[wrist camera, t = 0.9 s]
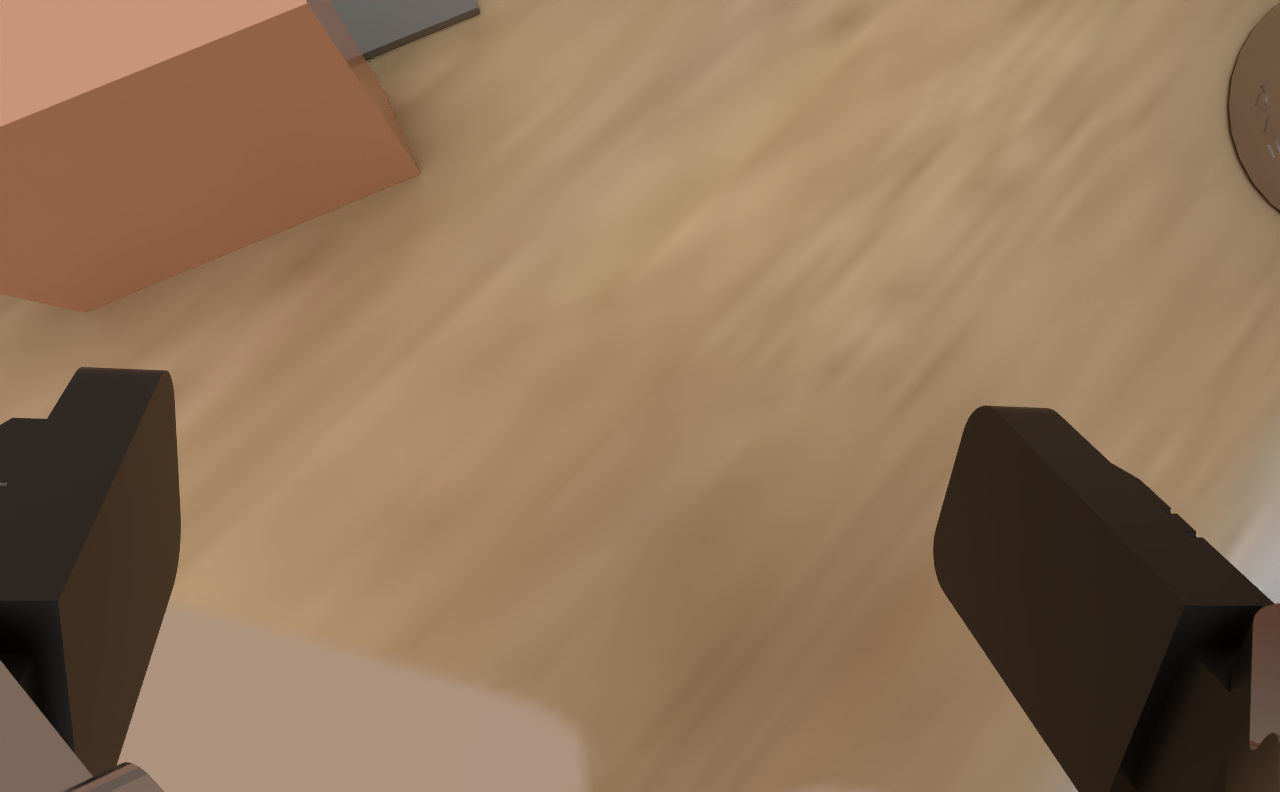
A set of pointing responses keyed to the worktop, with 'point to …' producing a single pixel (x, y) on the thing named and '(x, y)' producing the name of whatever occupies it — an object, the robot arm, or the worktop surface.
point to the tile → (175, 136)
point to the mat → (398, 20)
